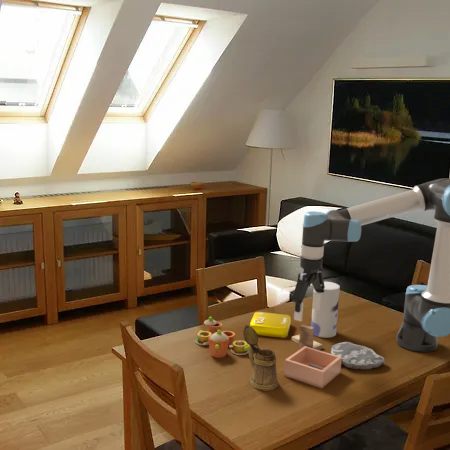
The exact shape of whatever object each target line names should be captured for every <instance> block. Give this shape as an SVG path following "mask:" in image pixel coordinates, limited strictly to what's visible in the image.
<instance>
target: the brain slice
mask: <svg viewBox="0 0 450 450" xmlns="http://www.w3.org/2000/svg"><path fill="white" fill-rule="evenodd" d="M330 354H333V355H336V356H340V357H342V360H341V365H344V367H346V368H349V369H353V370H372V369H373V368H379V367H380V366H382V365H383V364H384V363H385V362H386V358H385V357H383V356H382V355H379V354H377V353H376V352H375V351H374V350H373V349H372V348H370V347H367V346H365V345H360V344H355V343H353V342H350V341H343V342H342V341H341V342H339V343H335V344H333V345H331V348H330Z"/></svg>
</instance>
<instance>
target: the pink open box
mask: <svg viewBox="0 0 450 450" xmlns="http://www.w3.org/2000/svg"><path fill="white" fill-rule="evenodd" d="M341 360H342V357H340V356H336V355H333V354H331V352H326V351H322V350H321V349H320V350H316V349H313V348H310V347H306V346H304V347H303V348H301V349H300V350H299V349H298V350H297V351H296V352H294V353H293V354H291V355H290V356H289V357H287V358H285V359H284V371H283V372H284V373H283V376H284V377H286V378H289V379H292V380H295V381H298V382H302V383H305V384H308V385H310V386H312V387H317V388H319V389H323V388H325V386H327V385H328V384H329V383H331V381H333V380H334V379H335V378H336V377H337V376H338V375H340V374H341V371H342V370H341V368H342V364H341Z"/></svg>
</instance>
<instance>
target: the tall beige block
mask: <svg viewBox="0 0 450 450" xmlns="http://www.w3.org/2000/svg"><path fill="white" fill-rule="evenodd" d="M299 334H300V338H299V344H298V350H300V349H301V348H303V347H304V346H306V347H310V348H313V340H314V336H315V335H314V327H311V325H310V326H309V325H307V324H301V325H300V326H299Z"/></svg>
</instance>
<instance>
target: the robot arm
mask: <svg viewBox="0 0 450 450" xmlns="http://www.w3.org/2000/svg"><path fill="white" fill-rule="evenodd" d="M429 210H430V211H431V210H434V216H433V220H434V221H435V222H436V224H437V226H436V231H435V237H434V244H433V251H432V256H431V263H430V268H429V274H428V280H427V284H411V285H409V286H407V288H406V292H405V293H404V294H405V298H404V299H405V300H404V308H403V317H402V318H403V319H402V323H401V325H400V327H399V329H398V331H397V334H396V338H395V339H396V340H395V341H396V343H397V345H398V346H400V347H401V348H404V349H406V350H409V351H414V352H419V353H420V352H421V353H427V352H434V351H436V350H437V349H438V346H439V340H438V338H443V337H447V336H448V335H450V178H438V179H434V180H431V181H426V182H423V183H422V184H417V185H414V187H413V188H412V189H410V190H406V191H403V192H399V193H396V194H393V195H388V196H386V197H382V198H378V199H375V200H372V201H367V202H365V203H361V204H359V205H353V206H351V207H347V208H343V209H340V210H336V209H330V210H327V211H326V212H325V213H324V212H322V211H307V212H305V214H304V217H303V222H302V223H303V224H302V236H301V237H302V238H301V246H300V248H301V252H300V253H301V254H300V255H301V256H300V264H299V266H300V268H301V269H303V271H302V273H301V272H299V273H298V275H297V281H296V284H295V288H294V290H293V295H292V297H291V302H293V303H294V313H293V320H295V321H297V322H303V312H304V302H303V301H304V298H305V295H306V294H307V291H308V289H309V287H311V285H312V287H313V290H314V289H315V291H316V292H315V291H314V292H313V293H312V305H311V310H312V309H315V310H318V311H319V310H320V301H321V292H322V293H324V290H323V289H325V286H324V282H325V281H324V280H325V279H324V274H323V260H324V259H323V257H324V251H325V249H324V248H325V242H326V241H329V242H348V243H350V242H351V243H352V242H358V241H359V240H360V239H361V237H362V226H365V225H368V224H372V223H376V222H380V221H382V220H386V219H390V218H394V217H398V216H401V215H403V214H407V213H412V212H415V211H420V212H426V211H429ZM321 285H322V286H321Z"/></svg>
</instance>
